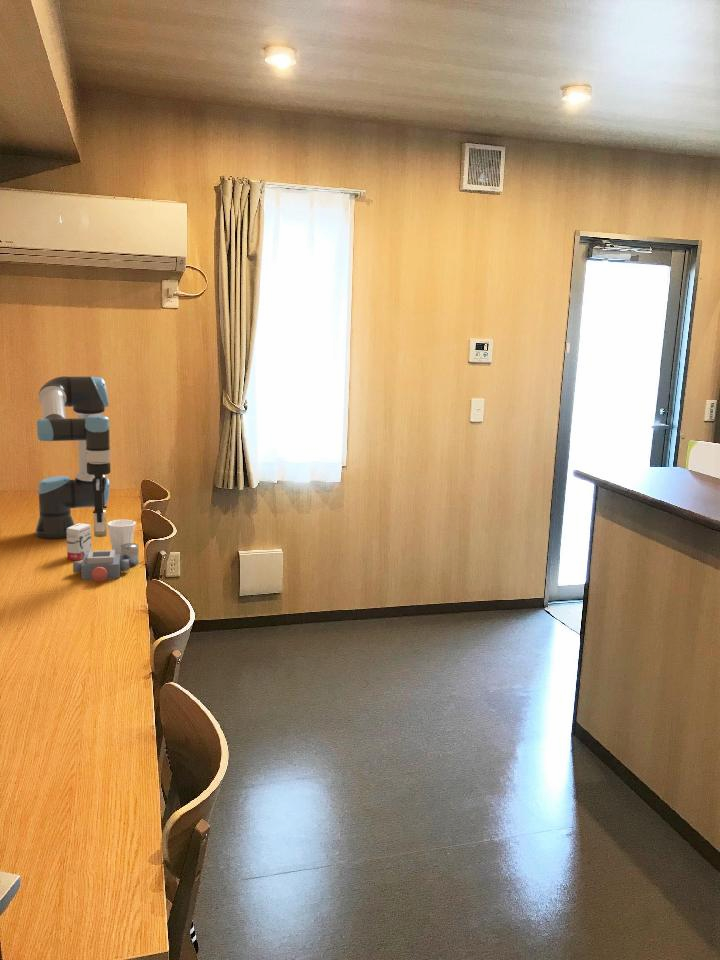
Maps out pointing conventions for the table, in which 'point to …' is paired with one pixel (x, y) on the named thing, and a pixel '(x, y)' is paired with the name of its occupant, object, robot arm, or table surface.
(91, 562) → the valve body
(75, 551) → the ink box
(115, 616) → the table surface
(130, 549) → the steel nipple large
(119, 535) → the cup
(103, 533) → the brass cylinder
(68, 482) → the robot arm
